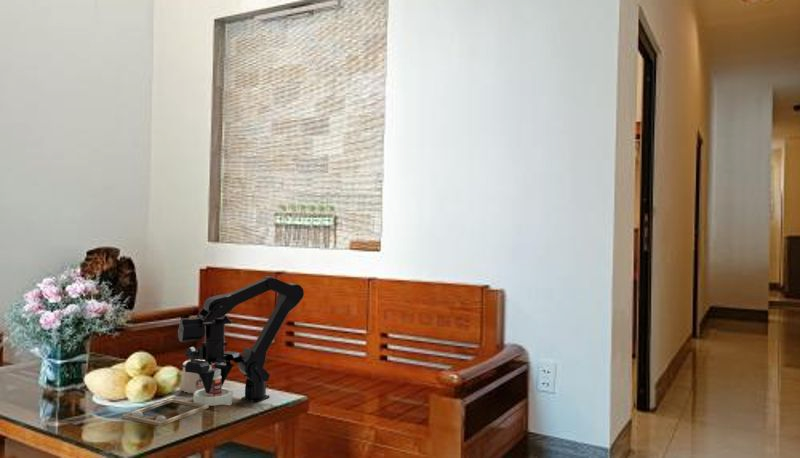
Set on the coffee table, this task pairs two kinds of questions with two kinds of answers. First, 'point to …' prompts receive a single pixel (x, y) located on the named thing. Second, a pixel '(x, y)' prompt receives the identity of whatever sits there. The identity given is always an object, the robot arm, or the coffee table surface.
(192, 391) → the teacup with lid
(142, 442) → the coffee table surface
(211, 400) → the bowl
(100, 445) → the coffee table surface
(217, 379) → the pill bottle
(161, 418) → the pebble
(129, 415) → the tray
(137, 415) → the pebble
